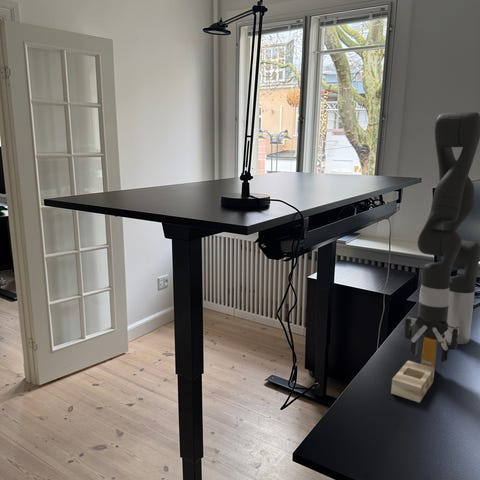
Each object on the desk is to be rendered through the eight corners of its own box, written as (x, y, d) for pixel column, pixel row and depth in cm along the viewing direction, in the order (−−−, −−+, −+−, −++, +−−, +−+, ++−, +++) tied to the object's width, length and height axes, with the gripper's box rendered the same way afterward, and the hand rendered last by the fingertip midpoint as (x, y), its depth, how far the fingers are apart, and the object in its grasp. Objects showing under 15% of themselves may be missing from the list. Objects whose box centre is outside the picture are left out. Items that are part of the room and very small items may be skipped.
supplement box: (432, 374, 122) (435, 340, 121) (419, 370, 124) (422, 337, 123) (435, 369, 125) (438, 336, 123) (422, 366, 127) (425, 333, 125)
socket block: (406, 373, 122) (407, 360, 122) (433, 381, 118) (434, 367, 118) (391, 393, 112) (392, 379, 112) (419, 402, 108) (420, 387, 107)
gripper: (465, 303, 120) (459, 359, 123) (411, 293, 128) (406, 346, 131) (459, 310, 114) (453, 369, 117) (403, 299, 122) (398, 355, 125)
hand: (428, 357), depth 124 cm, fingers open, 7 cm apart
